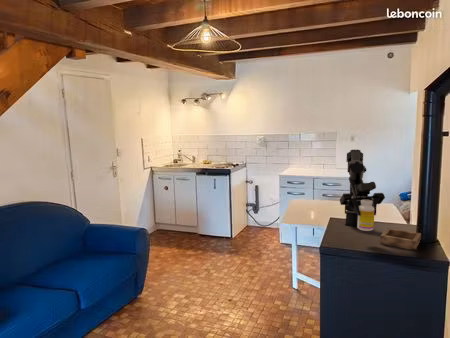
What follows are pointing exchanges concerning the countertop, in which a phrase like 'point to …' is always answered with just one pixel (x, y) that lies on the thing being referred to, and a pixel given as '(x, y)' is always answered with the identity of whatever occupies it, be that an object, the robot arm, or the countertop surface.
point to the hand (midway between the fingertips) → (367, 215)
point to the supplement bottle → (366, 215)
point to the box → (400, 239)
